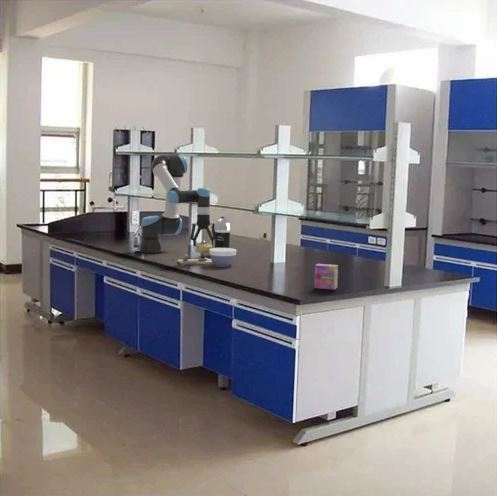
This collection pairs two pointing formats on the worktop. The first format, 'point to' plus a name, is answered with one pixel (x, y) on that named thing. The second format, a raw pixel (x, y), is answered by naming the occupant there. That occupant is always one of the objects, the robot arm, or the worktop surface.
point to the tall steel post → (203, 254)
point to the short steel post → (185, 257)
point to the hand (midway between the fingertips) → (203, 251)
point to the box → (326, 276)
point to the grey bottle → (222, 233)
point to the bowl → (222, 256)
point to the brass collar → (203, 248)
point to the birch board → (195, 262)
